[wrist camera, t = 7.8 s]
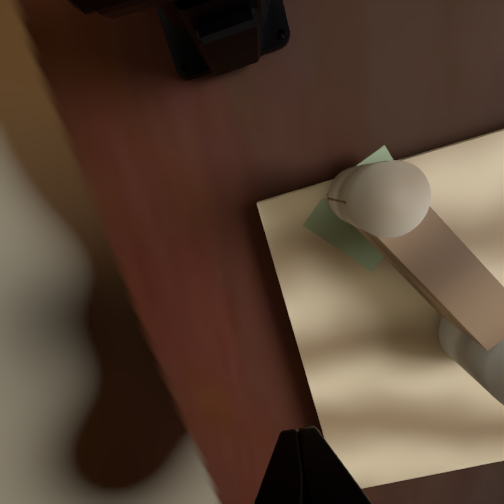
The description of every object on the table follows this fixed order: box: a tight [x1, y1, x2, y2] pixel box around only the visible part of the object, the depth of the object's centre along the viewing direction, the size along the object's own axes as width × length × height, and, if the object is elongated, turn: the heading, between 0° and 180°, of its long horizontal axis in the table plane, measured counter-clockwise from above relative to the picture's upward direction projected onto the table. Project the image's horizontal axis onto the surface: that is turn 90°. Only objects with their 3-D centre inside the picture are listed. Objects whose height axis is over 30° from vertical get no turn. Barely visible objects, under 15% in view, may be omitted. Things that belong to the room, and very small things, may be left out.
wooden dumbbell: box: [327, 160, 504, 405], centre depth 15 cm, size 16×5×5 cm, turn 46°
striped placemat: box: [257, 129, 504, 489], centre depth 19 cm, size 23×22×2 cm
